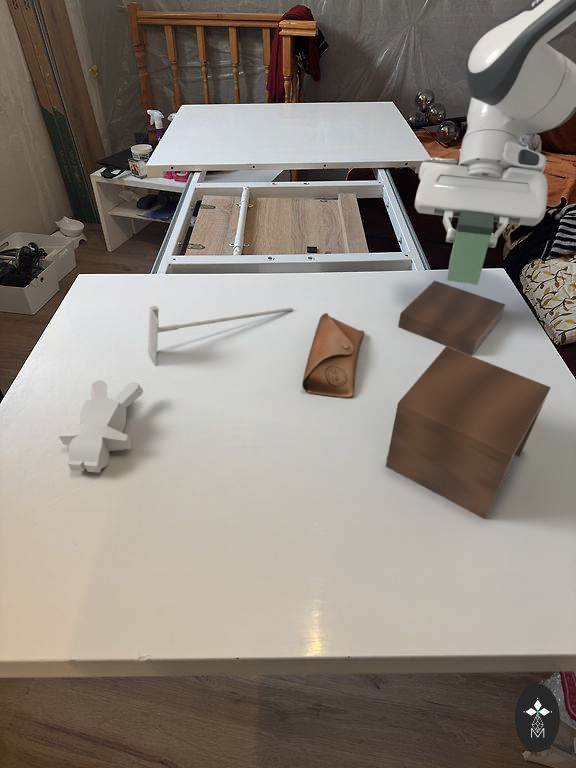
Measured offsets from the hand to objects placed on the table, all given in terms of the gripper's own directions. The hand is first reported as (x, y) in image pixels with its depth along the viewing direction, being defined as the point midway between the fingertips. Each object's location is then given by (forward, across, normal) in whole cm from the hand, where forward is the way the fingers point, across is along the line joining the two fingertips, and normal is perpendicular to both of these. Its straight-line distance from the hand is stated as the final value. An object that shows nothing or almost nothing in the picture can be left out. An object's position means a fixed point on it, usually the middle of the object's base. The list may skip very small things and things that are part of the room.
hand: (470, 243), depth 86 cm
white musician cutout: (+41, -46, -19) cm, 64 cm away
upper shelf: (+34, +3, -12) cm, 36 cm away
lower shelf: (+11, 0, +12) cm, 16 cm away
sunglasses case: (+23, -18, 0) cm, 29 cm away
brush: (+22, -39, 0) cm, 45 cm away
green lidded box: (+4, 0, +4) cm, 6 cm away
